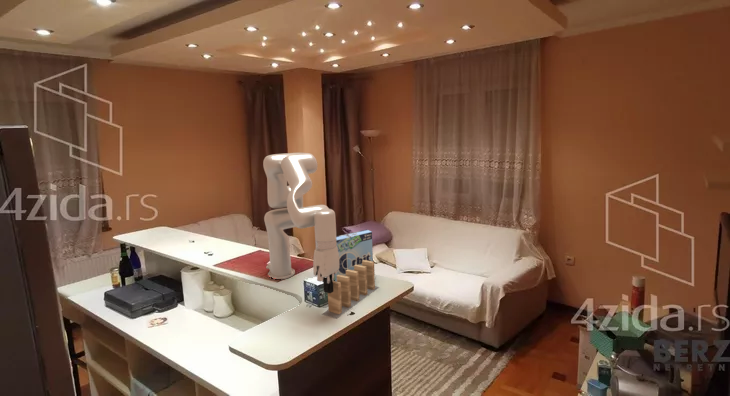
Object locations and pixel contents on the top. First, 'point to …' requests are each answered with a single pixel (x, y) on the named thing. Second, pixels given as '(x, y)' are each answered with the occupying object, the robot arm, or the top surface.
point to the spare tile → (335, 298)
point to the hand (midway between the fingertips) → (328, 291)
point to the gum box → (353, 250)
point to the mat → (353, 303)
